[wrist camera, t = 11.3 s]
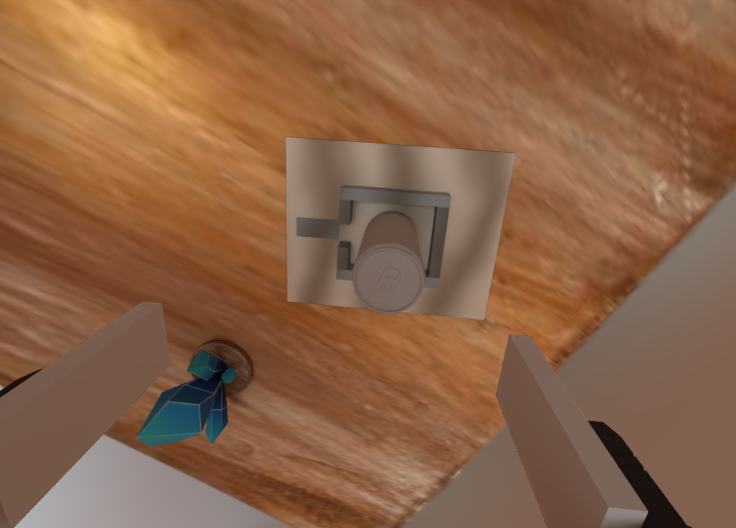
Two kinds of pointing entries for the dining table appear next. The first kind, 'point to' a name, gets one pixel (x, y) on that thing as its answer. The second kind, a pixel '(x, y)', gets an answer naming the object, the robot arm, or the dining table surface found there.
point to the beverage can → (389, 264)
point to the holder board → (403, 194)
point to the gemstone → (199, 396)
